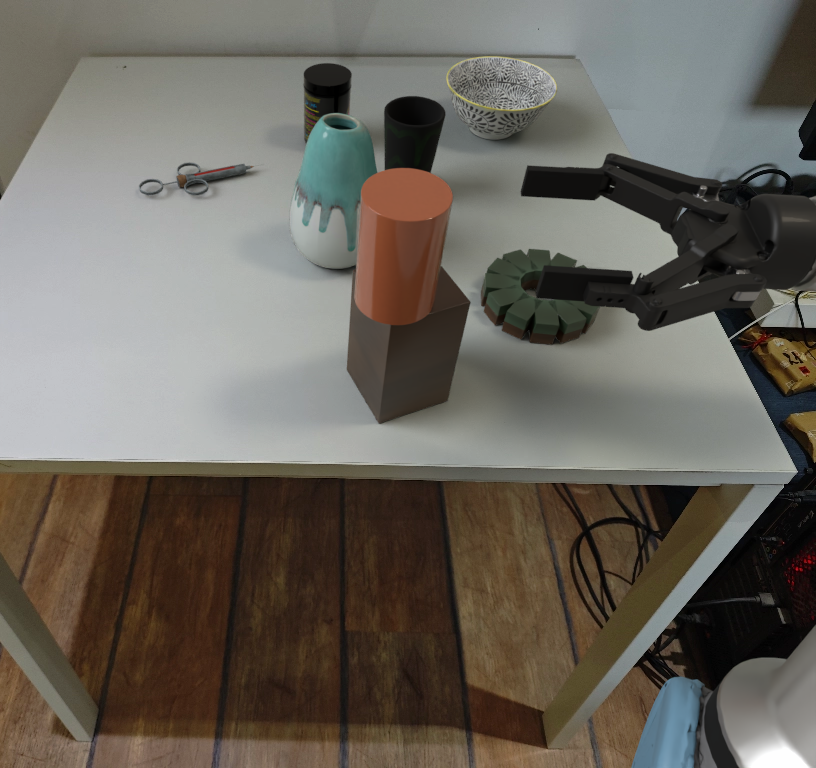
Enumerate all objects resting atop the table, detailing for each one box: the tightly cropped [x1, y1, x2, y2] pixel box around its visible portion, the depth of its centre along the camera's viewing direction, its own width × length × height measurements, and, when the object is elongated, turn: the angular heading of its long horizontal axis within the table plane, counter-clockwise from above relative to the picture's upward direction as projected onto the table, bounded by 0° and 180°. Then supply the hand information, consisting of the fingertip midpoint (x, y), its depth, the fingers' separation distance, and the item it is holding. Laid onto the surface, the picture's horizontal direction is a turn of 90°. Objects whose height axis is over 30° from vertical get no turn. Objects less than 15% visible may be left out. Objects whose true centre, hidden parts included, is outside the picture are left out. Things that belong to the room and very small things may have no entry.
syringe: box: [138, 161, 265, 197], centre depth 101 cm, size 8×18×2 cm, turn 110°
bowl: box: [445, 55, 558, 141], centre depth 108 cm, size 16×16×8 cm
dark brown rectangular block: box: [346, 265, 472, 424], centre depth 71 cm, size 8×8×14 cm
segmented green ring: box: [480, 248, 601, 346], centre depth 83 cm, size 13×13×3 cm
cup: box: [383, 95, 446, 173], centre depth 95 cm, size 8×8×12 cm
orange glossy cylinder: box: [354, 168, 454, 325], centre depth 61 cm, size 7×7×11 cm
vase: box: [288, 113, 379, 270], centre depth 84 cm, size 12×12×18 cm
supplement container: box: [302, 62, 353, 145], centre depth 104 cm, size 7×7×10 cm
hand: (530, 227), depth 60 cm, fingers open, 13 cm apart
